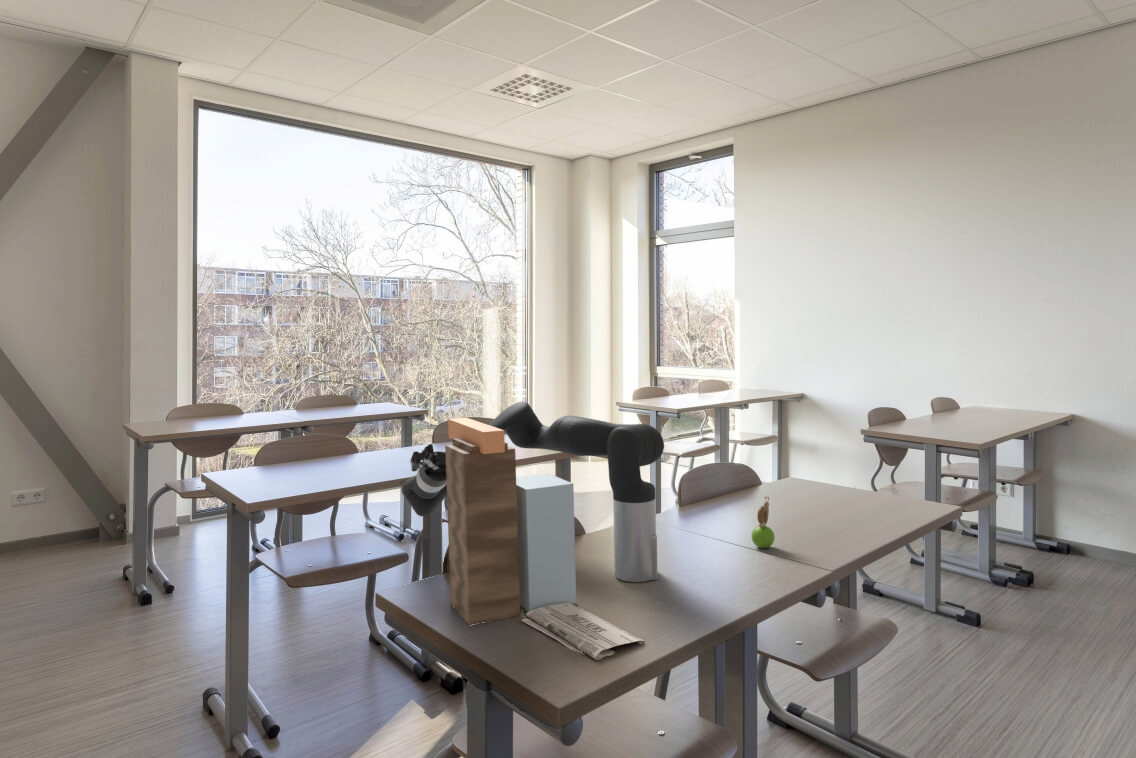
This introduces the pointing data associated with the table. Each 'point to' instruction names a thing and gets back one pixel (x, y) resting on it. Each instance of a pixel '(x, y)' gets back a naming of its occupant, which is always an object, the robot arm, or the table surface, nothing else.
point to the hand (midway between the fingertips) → (450, 445)
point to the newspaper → (579, 629)
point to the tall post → (482, 532)
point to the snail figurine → (763, 528)
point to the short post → (545, 541)
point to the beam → (477, 435)
